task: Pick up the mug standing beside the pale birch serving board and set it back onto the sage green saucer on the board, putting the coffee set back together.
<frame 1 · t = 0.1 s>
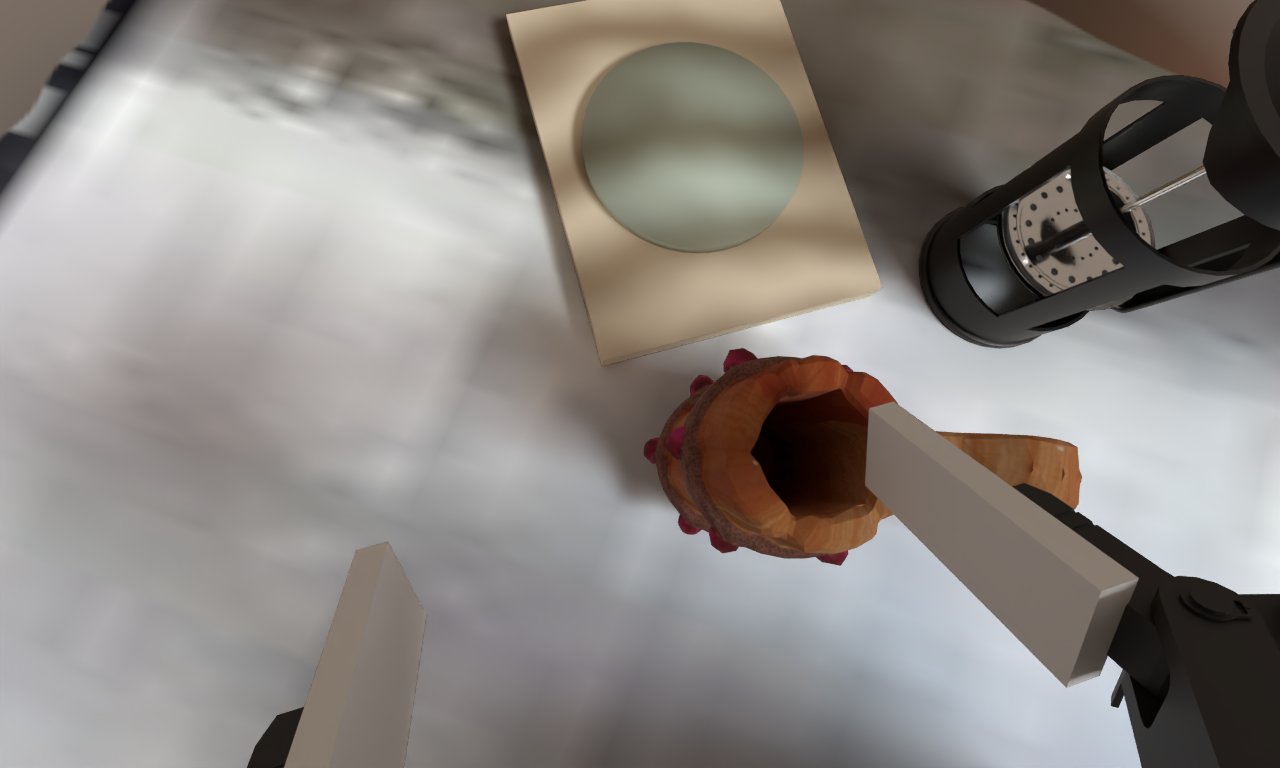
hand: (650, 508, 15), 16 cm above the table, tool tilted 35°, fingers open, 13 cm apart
french press: (994, 280, 34), on the table
mug: (764, 465, 31), on the table, touching gripper
serving board: (687, 163, 33), on the table
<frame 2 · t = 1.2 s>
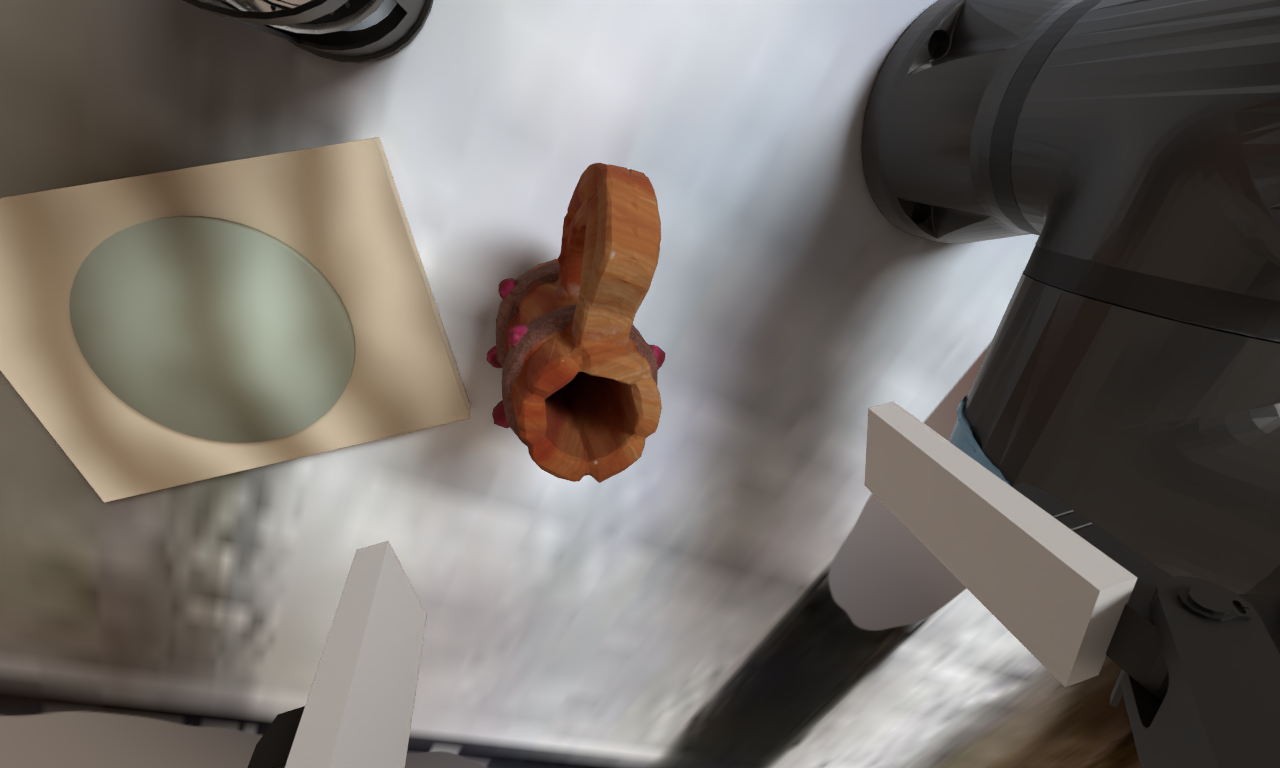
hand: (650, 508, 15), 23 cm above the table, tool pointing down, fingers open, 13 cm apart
mug: (562, 277, 34), on the table
serving board: (239, 326, 31), on the table
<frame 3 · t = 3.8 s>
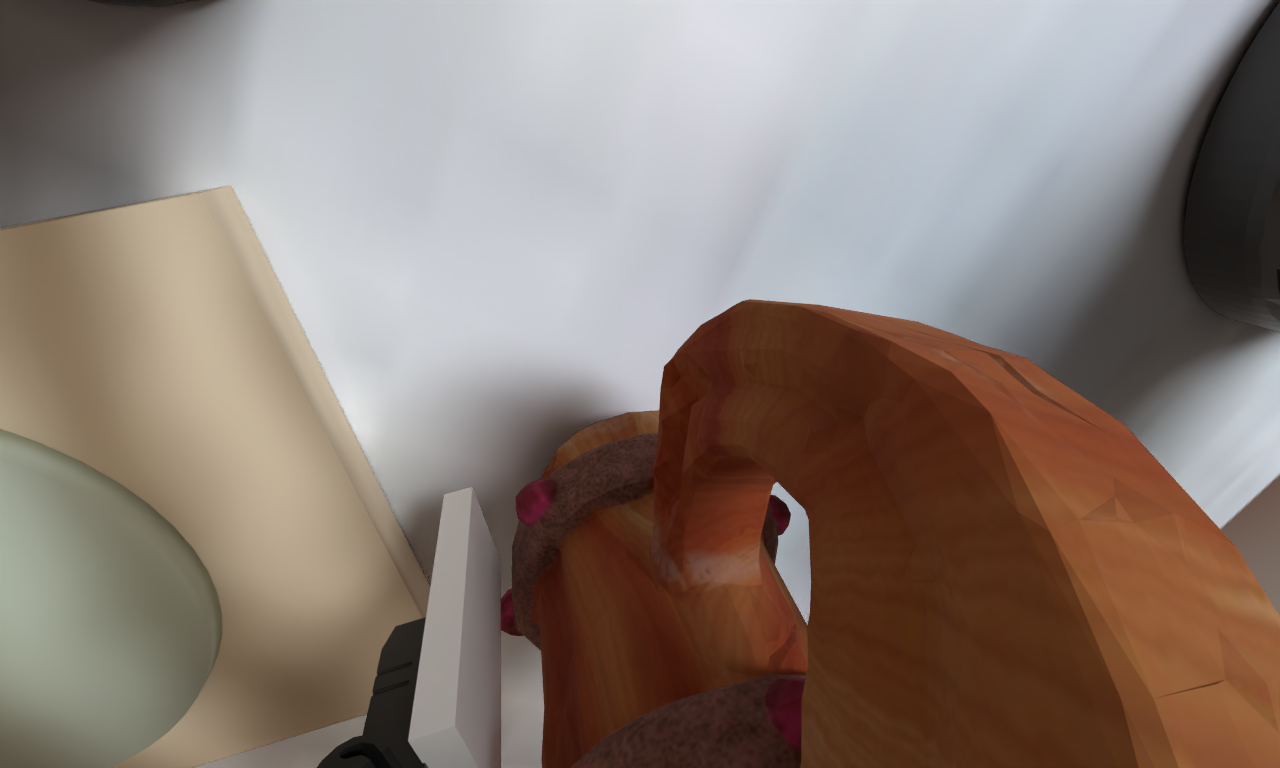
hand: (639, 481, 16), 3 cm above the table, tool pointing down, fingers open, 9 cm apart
mug: (636, 429, 18), on the table, touching gripper
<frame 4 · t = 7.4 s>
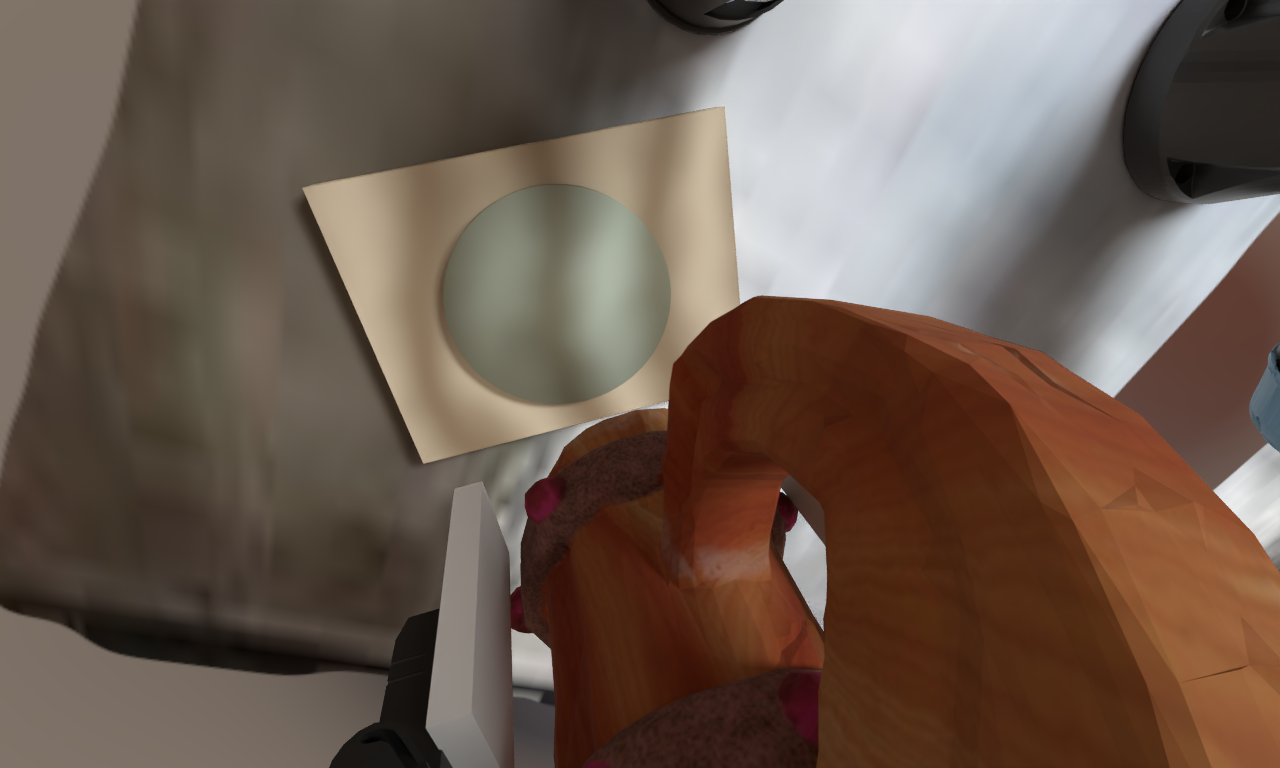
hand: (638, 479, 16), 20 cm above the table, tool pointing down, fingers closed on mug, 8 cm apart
mug: (642, 427, 18), point 17 cm above the table, touching gripper
serving board: (559, 293, 33), on the table
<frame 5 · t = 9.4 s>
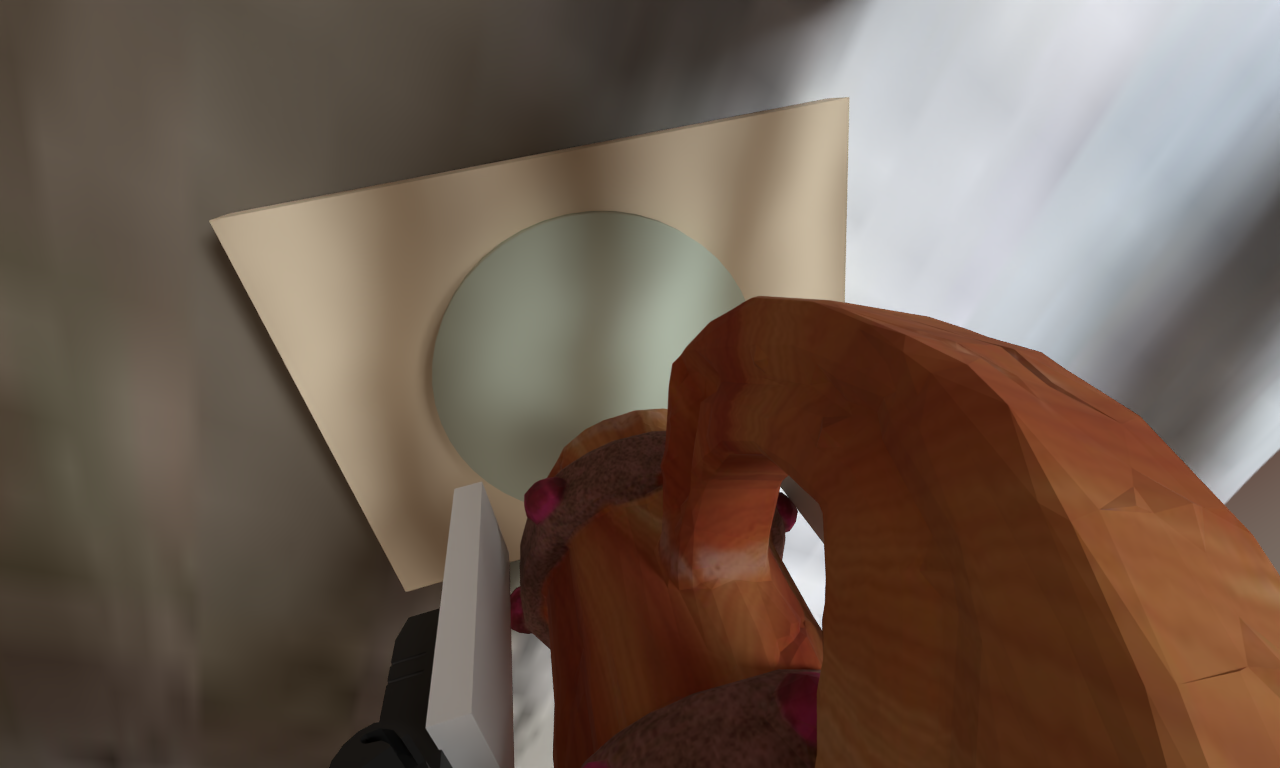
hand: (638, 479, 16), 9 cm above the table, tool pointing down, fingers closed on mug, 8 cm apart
mug: (642, 427, 18), point 6 cm above the table, touching gripper
serving board: (595, 359, 24), on the table
when the fingers open (6 cm above the table, at t = 10.9 s): mug drops 1 cm, resting on serving board.
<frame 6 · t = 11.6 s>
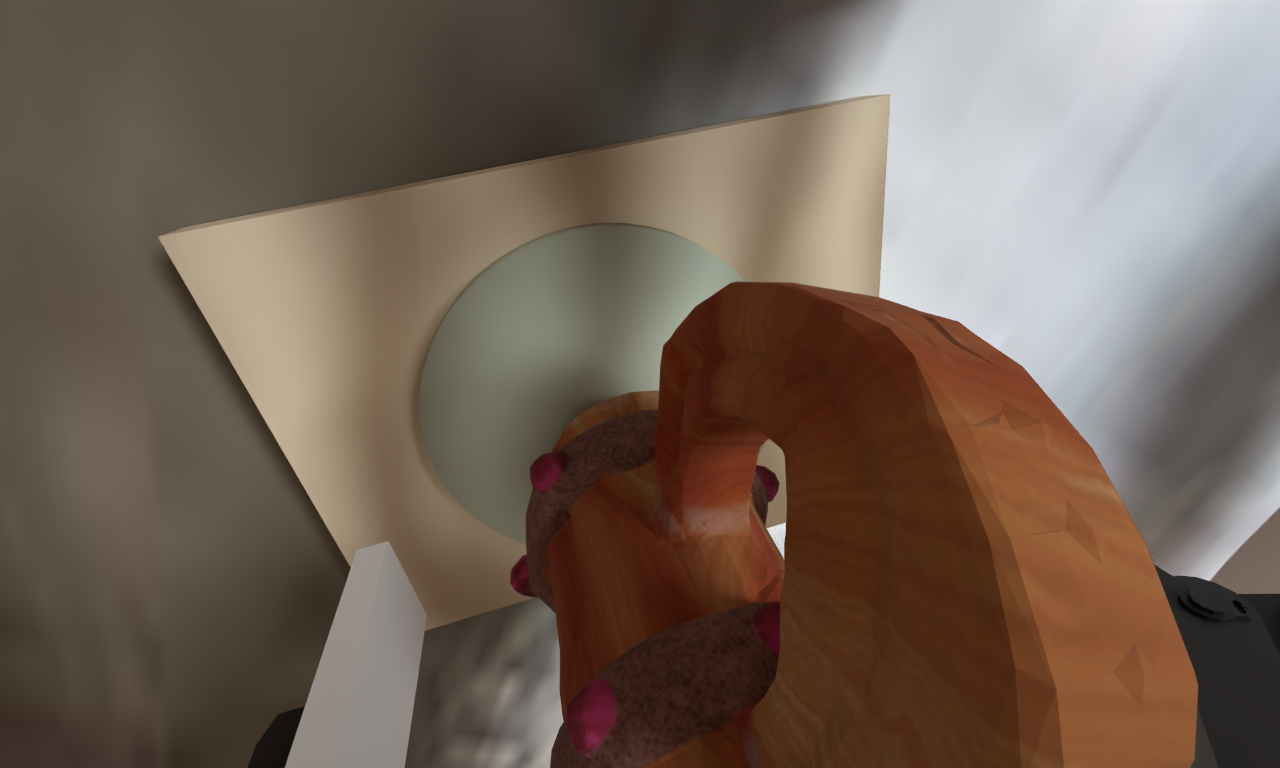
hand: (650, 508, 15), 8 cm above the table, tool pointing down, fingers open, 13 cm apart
mug: (636, 409, 20), point 2 cm above the table, touching serving board
serving board: (602, 385, 21), on the table
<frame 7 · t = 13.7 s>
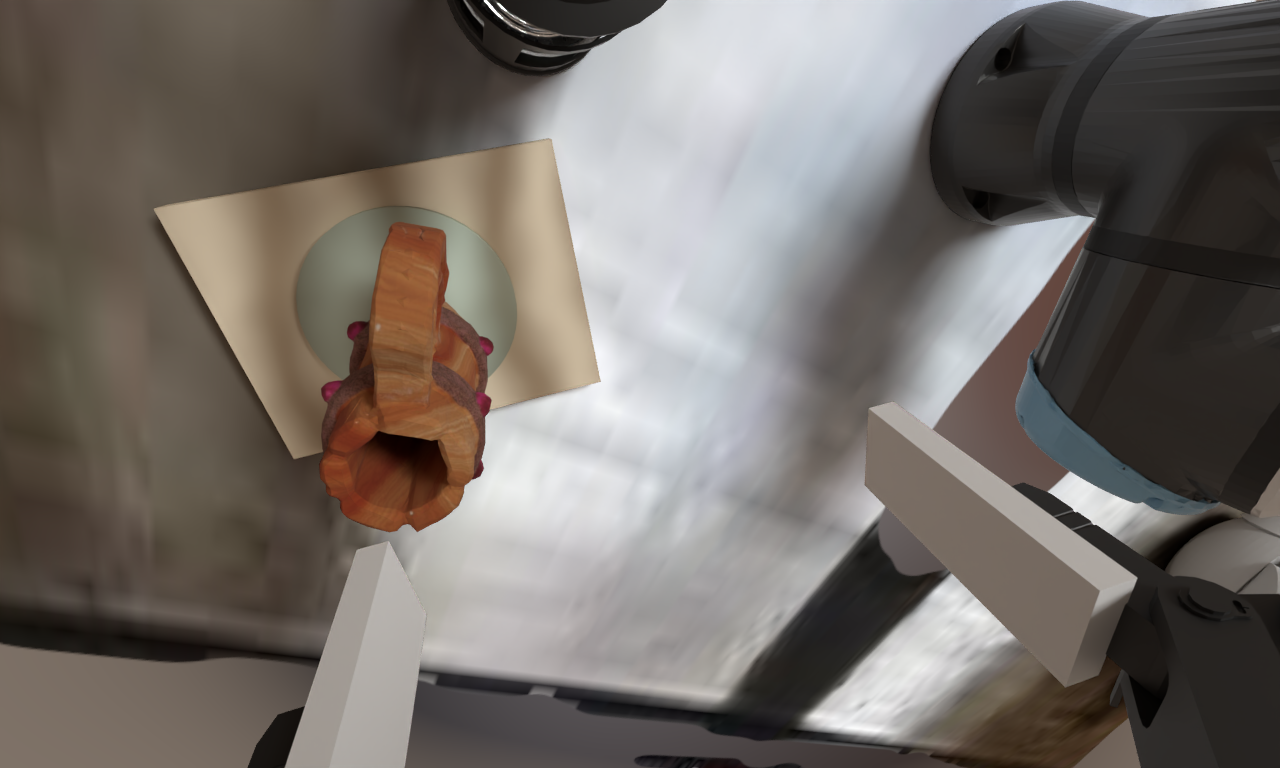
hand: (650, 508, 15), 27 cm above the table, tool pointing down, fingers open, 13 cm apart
decorative bowl: (1194, 547, 82), on the table
mug: (428, 312, 35), point 2 cm above the table, touching serving board
serving board: (416, 302, 36), on the table
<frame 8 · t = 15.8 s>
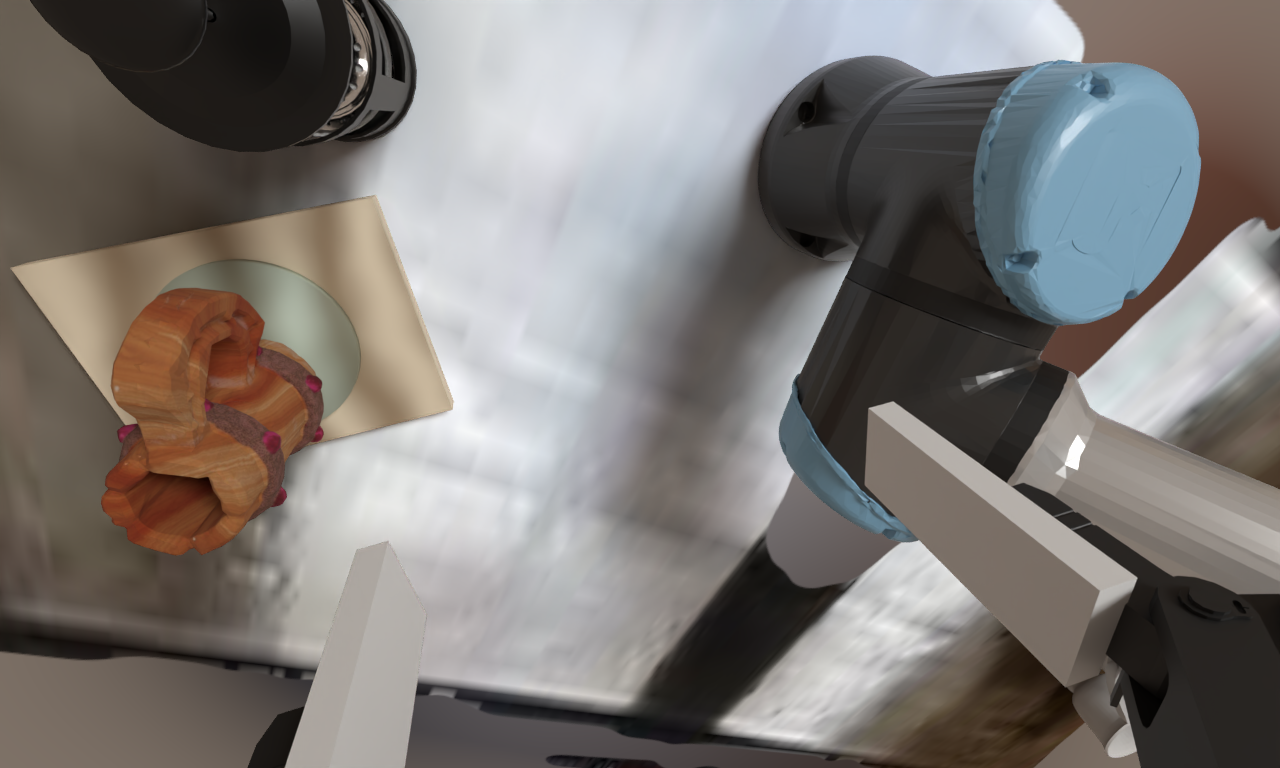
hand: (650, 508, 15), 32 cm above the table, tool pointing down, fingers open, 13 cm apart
french press: (340, 52, 34), on the table
teacup: (1084, 677, 96), on the table
decorative bowl: (1119, 562, 82), on the table
mug: (273, 351, 39), point 2 cm above the table, touching serving board
serving board: (269, 341, 40), on the table
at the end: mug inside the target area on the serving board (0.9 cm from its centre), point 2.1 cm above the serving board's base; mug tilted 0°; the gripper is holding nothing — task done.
